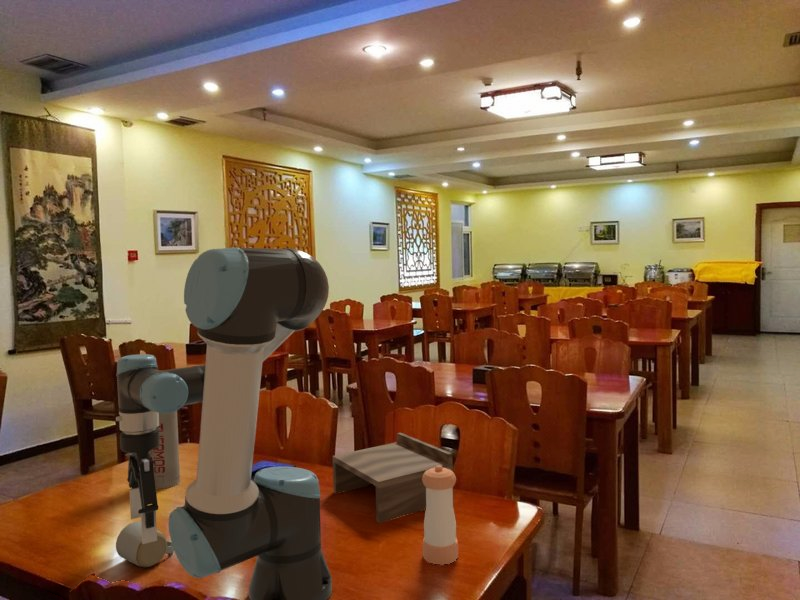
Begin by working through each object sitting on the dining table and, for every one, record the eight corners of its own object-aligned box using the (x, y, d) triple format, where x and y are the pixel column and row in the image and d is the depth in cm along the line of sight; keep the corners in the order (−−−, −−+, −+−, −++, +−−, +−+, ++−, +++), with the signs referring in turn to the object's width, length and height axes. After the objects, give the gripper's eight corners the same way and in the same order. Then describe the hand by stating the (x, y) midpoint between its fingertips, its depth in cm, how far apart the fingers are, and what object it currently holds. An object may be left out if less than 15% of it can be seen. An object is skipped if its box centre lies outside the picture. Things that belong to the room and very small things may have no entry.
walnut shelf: (453, 501, 150) (452, 453, 150) (379, 523, 138) (378, 471, 138) (401, 475, 170) (400, 432, 170) (333, 492, 158) (332, 446, 158)
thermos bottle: (167, 489, 163) (163, 390, 161) (143, 487, 165) (139, 388, 164) (186, 479, 170) (181, 384, 169) (163, 477, 173) (158, 383, 171)
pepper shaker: (436, 545, 127) (434, 457, 126) (464, 554, 122) (463, 464, 121) (415, 558, 121) (413, 467, 120) (444, 569, 117) (443, 474, 116)
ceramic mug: (138, 575, 117) (136, 537, 117) (115, 564, 122) (114, 527, 121) (184, 554, 126) (183, 519, 125) (161, 544, 130) (160, 510, 130)
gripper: (111, 419, 130) (115, 512, 131) (129, 448, 109) (134, 558, 111) (147, 413, 134) (150, 504, 136) (171, 441, 113) (175, 548, 115)
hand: (143, 529), depth 123 cm, fingers open, 13 cm apart
